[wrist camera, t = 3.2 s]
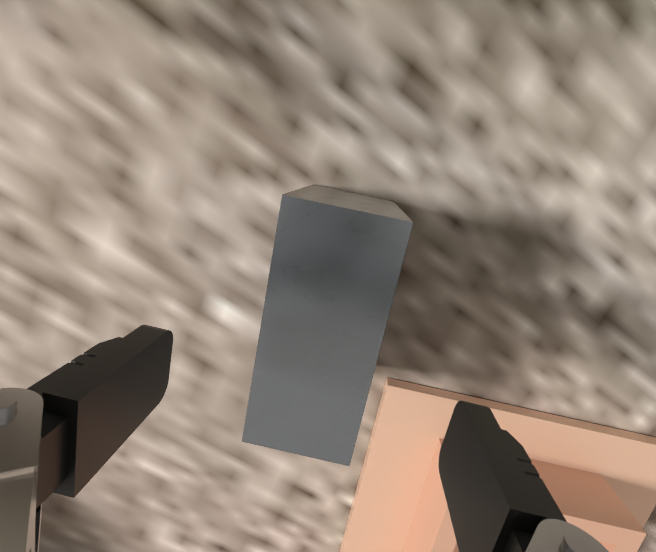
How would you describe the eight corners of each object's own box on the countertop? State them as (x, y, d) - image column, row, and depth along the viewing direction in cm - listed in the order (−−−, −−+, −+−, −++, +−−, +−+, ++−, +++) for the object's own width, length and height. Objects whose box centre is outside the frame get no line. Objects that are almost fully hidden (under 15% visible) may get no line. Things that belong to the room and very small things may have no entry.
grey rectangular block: (313, 184, 19) (282, 194, 12) (392, 201, 19) (413, 222, 12) (284, 345, 22) (242, 441, 14) (353, 361, 22) (349, 466, 14)
